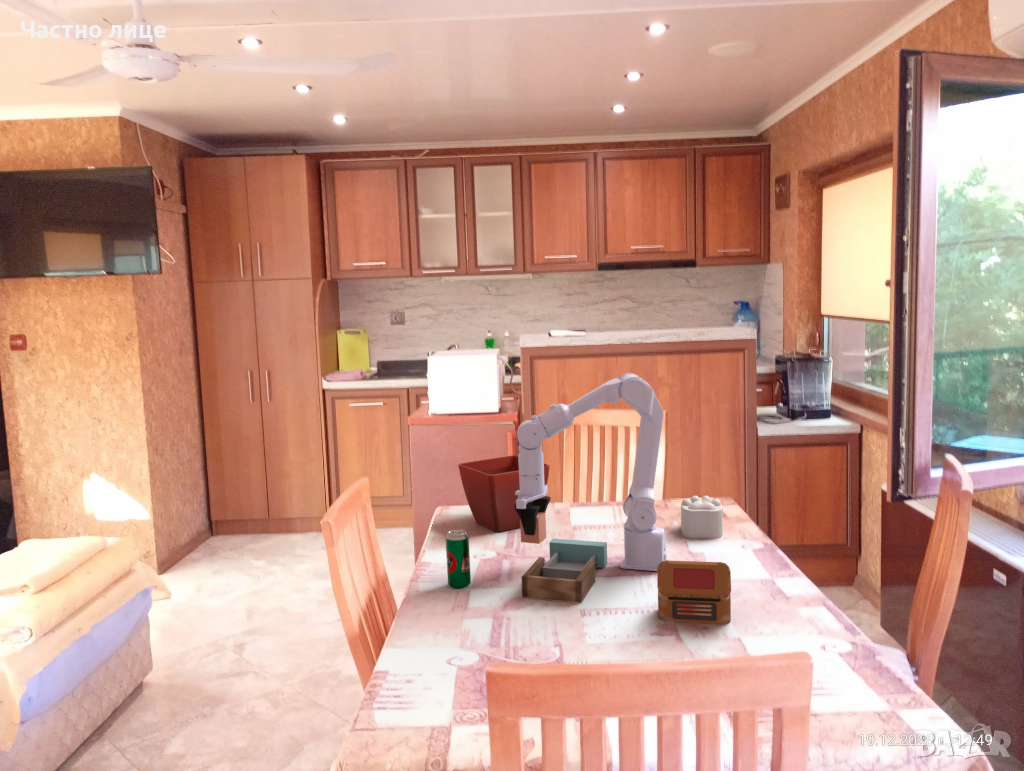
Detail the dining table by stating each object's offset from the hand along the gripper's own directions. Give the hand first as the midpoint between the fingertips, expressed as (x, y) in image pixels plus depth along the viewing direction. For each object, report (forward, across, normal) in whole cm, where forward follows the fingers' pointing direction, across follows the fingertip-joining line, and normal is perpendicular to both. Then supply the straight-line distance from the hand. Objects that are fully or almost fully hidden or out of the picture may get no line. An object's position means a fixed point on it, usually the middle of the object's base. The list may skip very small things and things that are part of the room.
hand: (533, 531), depth 176 cm
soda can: (+9, +15, -12) cm, 21 cm away
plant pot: (+9, -31, -21) cm, 38 cm away
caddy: (+9, +9, +10) cm, 16 cm away
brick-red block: (+2, 0, 0) cm, 2 cm away
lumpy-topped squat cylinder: (+9, -39, +31) cm, 51 cm away
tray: (+9, 0, +9) cm, 13 cm away
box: (+10, +15, +39) cm, 43 cm away
